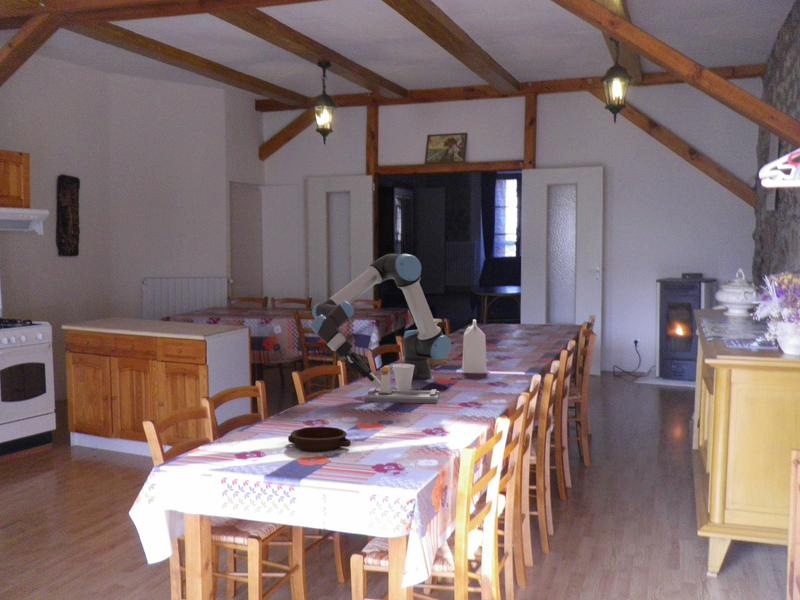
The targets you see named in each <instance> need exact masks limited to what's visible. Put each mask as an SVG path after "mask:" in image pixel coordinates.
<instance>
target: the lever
mask: <svg viewBox="0 0 800 600" xmlns="http://www.w3.org/2000/svg"><path fill="white" fill-rule="evenodd" d="M380 378H381V379H380V380H381V381H380V382H381V384H380V386H381V388H380V389H379V390H380V392H379V393H378V395H391V394H392V393H393V390H394V389H391V367H390V366H389V365H384V366H383V367H382V368H381V369H380Z"/></svg>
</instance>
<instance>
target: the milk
mask: <svg viewBox="0 0 800 600" xmlns="http://www.w3.org/2000/svg"><path fill="white" fill-rule="evenodd" d="M486 340H487V339H486V334H485V333H484V331H482V330H481V328H480V327H478V326H477V320H476V319H472V325H469V326H467V328H465V331H464V333H463V340H462V341H463V342H462V343H463V344H462V362H461V363H462V372H463V374H487V373H488V371H487V343H486Z"/></svg>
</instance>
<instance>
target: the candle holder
mask: <svg viewBox="0 0 800 600" xmlns="http://www.w3.org/2000/svg"><path fill="white" fill-rule="evenodd" d="M433 319H434V322H435V324H436V326H438V323H442V322H443V319H442V318H433ZM445 358H446V357H445ZM445 358H444V359H440V360H439V359H432V358H428V363H429V366H431V367H433V366H435V367H436V366H440V365H441V366H442V365H445V364H447V360H446V359H445Z"/></svg>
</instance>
